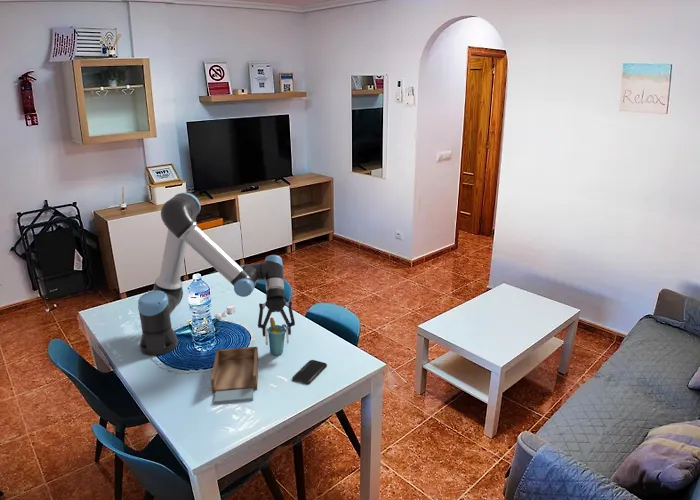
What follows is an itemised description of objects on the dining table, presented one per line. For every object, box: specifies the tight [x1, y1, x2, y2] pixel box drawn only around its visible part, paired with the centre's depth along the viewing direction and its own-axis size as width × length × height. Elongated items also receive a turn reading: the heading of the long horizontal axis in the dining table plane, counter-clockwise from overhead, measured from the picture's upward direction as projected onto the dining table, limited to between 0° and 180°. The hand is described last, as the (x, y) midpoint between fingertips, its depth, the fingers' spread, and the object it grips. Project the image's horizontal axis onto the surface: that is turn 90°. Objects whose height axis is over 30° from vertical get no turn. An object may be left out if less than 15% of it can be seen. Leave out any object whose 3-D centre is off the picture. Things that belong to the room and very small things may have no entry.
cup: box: [267, 317, 290, 356], centre depth 208 cm, size 14×8×15 cm, turn 46°
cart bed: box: [210, 346, 259, 394], centre depth 195 cm, size 16×21×6 cm
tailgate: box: [213, 388, 255, 405], centre depth 182 cm, size 13×1×6 cm
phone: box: [291, 359, 328, 385], centre depth 197 cm, size 8×1×15 cm
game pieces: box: [214, 304, 236, 321], centre depth 244 cm, size 12×3×3 cm, turn 151°
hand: (277, 343), depth 205 cm, fingers closed on cup, 8 cm apart
